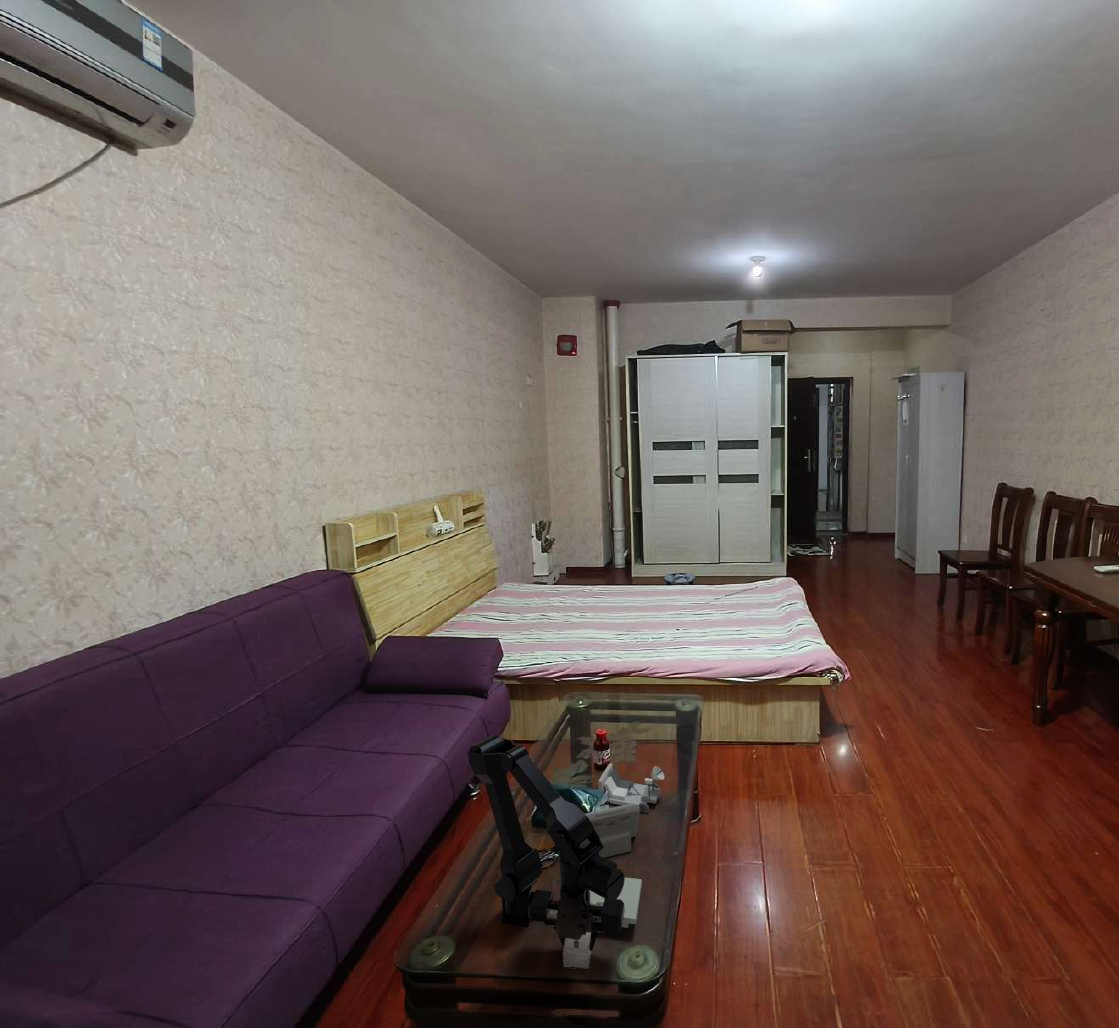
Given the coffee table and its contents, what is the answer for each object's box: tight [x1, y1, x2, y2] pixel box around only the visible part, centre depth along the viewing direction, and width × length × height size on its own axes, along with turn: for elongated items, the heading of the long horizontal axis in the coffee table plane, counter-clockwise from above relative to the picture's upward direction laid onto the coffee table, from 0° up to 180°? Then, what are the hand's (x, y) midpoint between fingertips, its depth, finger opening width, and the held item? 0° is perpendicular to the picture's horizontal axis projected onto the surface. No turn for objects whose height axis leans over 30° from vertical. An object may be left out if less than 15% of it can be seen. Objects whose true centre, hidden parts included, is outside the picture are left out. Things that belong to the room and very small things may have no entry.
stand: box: [590, 877, 643, 929], centre depth 143 cm, size 12×12×4 cm
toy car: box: [597, 763, 665, 814], centre depth 185 cm, size 18×10×12 cm
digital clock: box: [580, 803, 641, 859], centre depth 165 cm, size 16×9×11 cm, turn 95°
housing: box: [562, 932, 592, 968], centre depth 133 cm, size 5×8×4 cm, turn 172°
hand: (578, 947), depth 133 cm, fingers closed on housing, 5 cm apart
